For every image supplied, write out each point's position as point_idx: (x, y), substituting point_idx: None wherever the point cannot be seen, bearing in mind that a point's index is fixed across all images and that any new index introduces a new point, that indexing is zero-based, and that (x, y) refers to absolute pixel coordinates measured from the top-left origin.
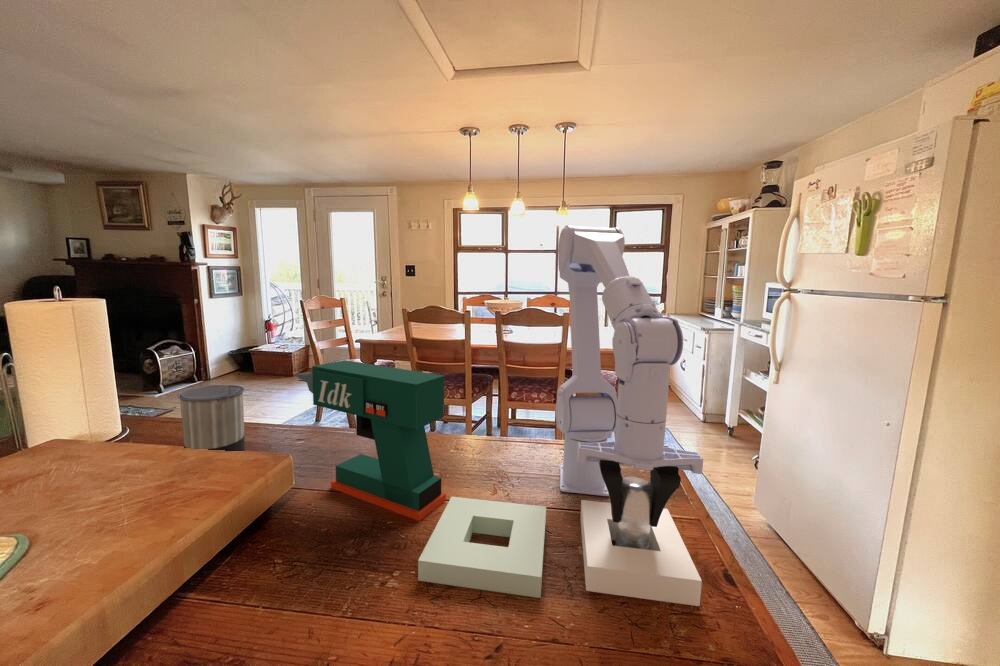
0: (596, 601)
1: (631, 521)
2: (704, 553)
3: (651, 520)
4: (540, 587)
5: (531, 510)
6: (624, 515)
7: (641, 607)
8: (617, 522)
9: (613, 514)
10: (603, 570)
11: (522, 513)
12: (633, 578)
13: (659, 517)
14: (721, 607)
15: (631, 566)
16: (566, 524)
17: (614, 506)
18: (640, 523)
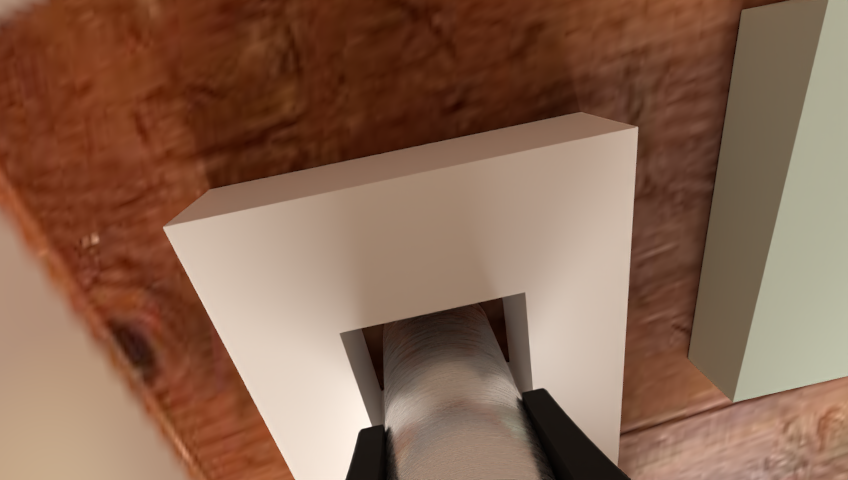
0: (547, 74)
1: (480, 405)
2: (217, 419)
3: (384, 450)
4: (781, 6)
5: (789, 365)
6: (518, 426)
7: (397, 107)
8: (528, 391)
9: (566, 415)
10: (566, 138)
11: (825, 339)
12: (439, 160)
13: (347, 476)
14: (141, 214)
15: (453, 199)
16: (624, 377)
17: (591, 454)
18: (436, 409)
